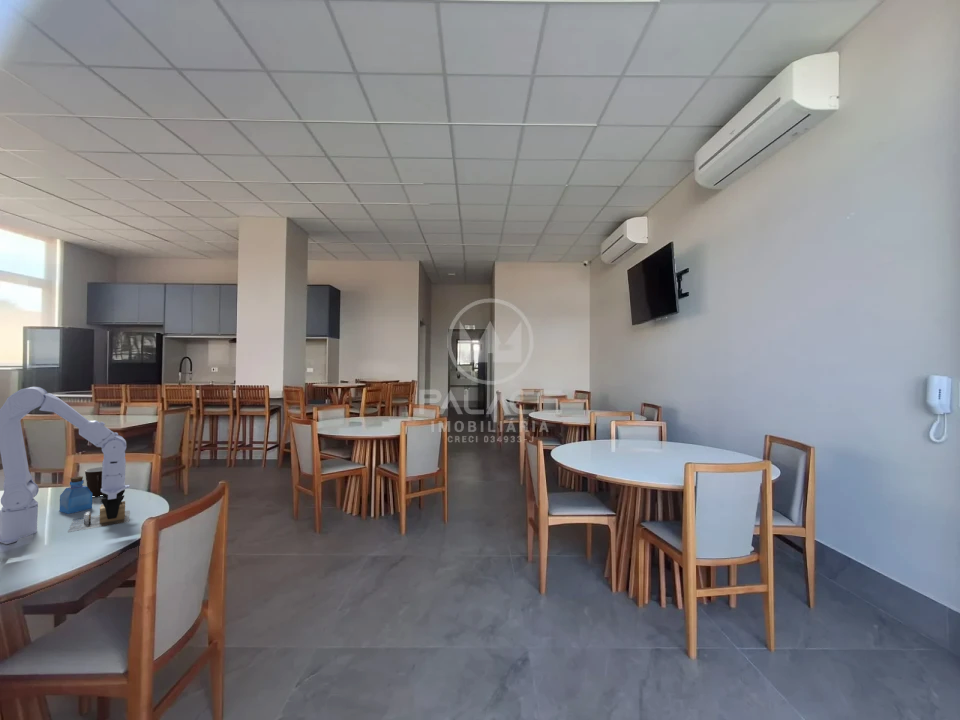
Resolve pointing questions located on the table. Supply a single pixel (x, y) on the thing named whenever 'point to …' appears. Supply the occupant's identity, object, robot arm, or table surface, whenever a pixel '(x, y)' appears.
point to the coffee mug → (94, 480)
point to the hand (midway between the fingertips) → (112, 515)
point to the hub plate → (94, 522)
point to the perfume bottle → (76, 497)
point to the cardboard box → (120, 516)
